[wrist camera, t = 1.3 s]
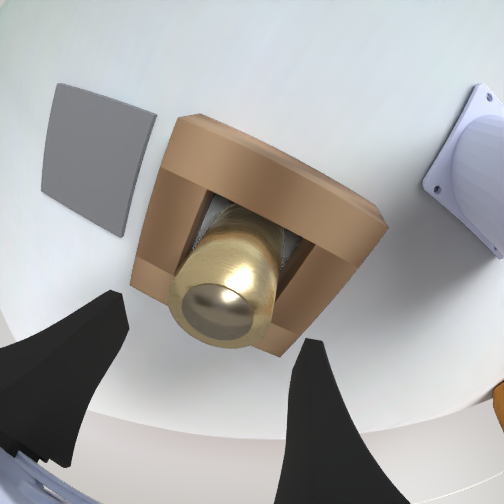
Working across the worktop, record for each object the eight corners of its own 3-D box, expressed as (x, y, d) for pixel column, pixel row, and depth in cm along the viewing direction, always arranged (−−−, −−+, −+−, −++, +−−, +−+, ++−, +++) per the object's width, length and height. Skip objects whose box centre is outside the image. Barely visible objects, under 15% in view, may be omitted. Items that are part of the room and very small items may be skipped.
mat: (157, 114, 14) (153, 115, 14) (123, 235, 19) (120, 237, 19) (60, 83, 14) (57, 83, 13) (44, 189, 18) (40, 190, 18)
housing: (375, 205, 15) (388, 227, 12) (284, 326, 21) (279, 357, 18) (200, 113, 14) (177, 117, 11) (149, 260, 20) (129, 284, 17)
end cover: (298, 223, 16) (291, 303, 10) (264, 276, 19) (243, 362, 12) (230, 188, 16) (182, 250, 10) (204, 246, 18) (157, 322, 12)
